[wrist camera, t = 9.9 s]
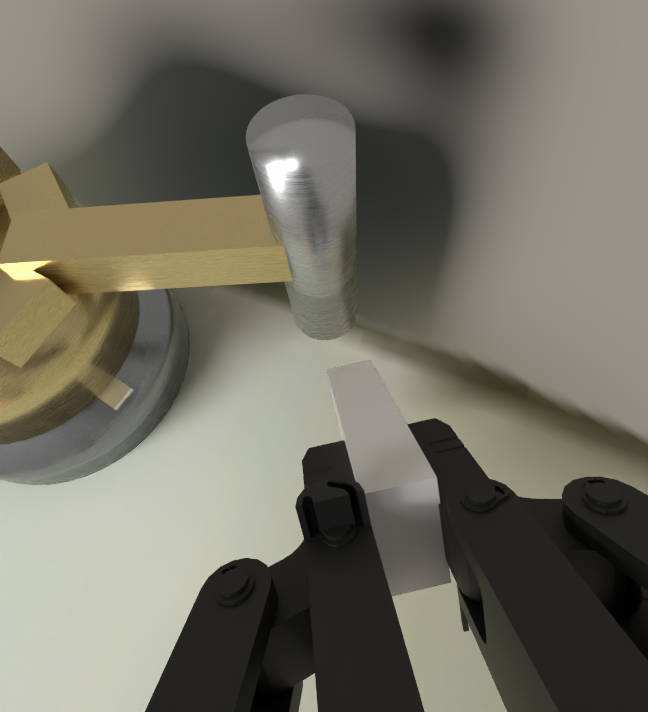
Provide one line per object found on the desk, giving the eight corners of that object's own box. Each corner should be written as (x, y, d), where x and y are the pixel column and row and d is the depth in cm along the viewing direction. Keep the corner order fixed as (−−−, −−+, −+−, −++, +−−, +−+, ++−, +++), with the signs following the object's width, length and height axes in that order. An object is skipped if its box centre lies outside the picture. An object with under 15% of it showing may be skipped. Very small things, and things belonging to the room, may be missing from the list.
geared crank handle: (-130, 450, 17) (-540, 361, 9) (-47, 244, 21) (-283, 63, 14) (364, 431, 16) (368, 311, 8) (351, 217, 20) (346, 3, 12)
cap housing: (-98, 399, 22) (-170, 374, 19) (75, 231, 26) (38, 188, 23) (65, 541, 19) (8, 538, 16) (237, 324, 22) (218, 287, 19)
